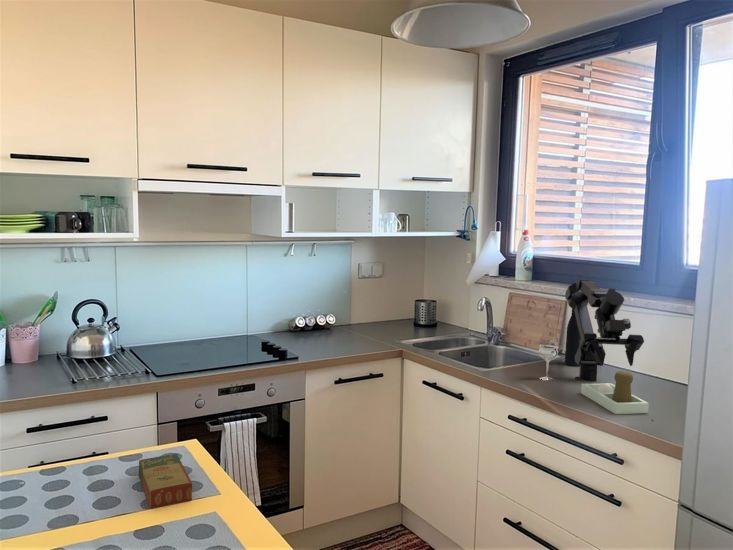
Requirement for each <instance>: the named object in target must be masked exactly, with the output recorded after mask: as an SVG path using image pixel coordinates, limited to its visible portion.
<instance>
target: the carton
mask: <svg viewBox="0 0 733 550" xmlns="http://www.w3.org/2000/svg"><path fill="white" fill-rule="evenodd" d="M138 477H139V478H138V479H139V481H140V483H141V486H142V489H143V493H144V496H145V500H146V501H147V504H148V507H149V510H151V509H157V508H162V507H168V506H171V505H178V504H181V503H187V502H192V501H193V482H192V480H191V478H190V476H189V474H188V473H187V470H186V469H185V467H184V465H183V462H182V461H181V459H180V456H179V455H178V453H171V454H166V455H161V456H154V457H149V458H143V459H139V460H138Z"/></svg>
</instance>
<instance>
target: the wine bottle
mask: <svg viewBox="0 0 733 550" xmlns="http://www.w3.org/2000/svg"><path fill="white" fill-rule="evenodd" d="M565 336H566V337H565V351H564V352H565V353H564V365H566V366H567V367H568V366H569V367H573V368H575V367H579V368H580V365H578V364H577V363H576V362H575V355H576V353H577V351H578V348H579V346H580V344H579V341H580V339H581V337H580V333H579V329H578V324H577V320H576V316H575V311H574V310H573V309H572V308H571V316H570V318H569V321H568V323H567V327H566V335H565Z"/></svg>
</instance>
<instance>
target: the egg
mask: <svg viewBox="0 0 733 550" xmlns="http://www.w3.org/2000/svg"><path fill="white" fill-rule="evenodd" d="M606 383H607V382H606ZM606 383H605V382H603V383H599V384H600V385H599V386H598V389H597V391H598V392H599V393H613V389H612V387H611V386H610V385H609V384H606Z"/></svg>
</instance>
